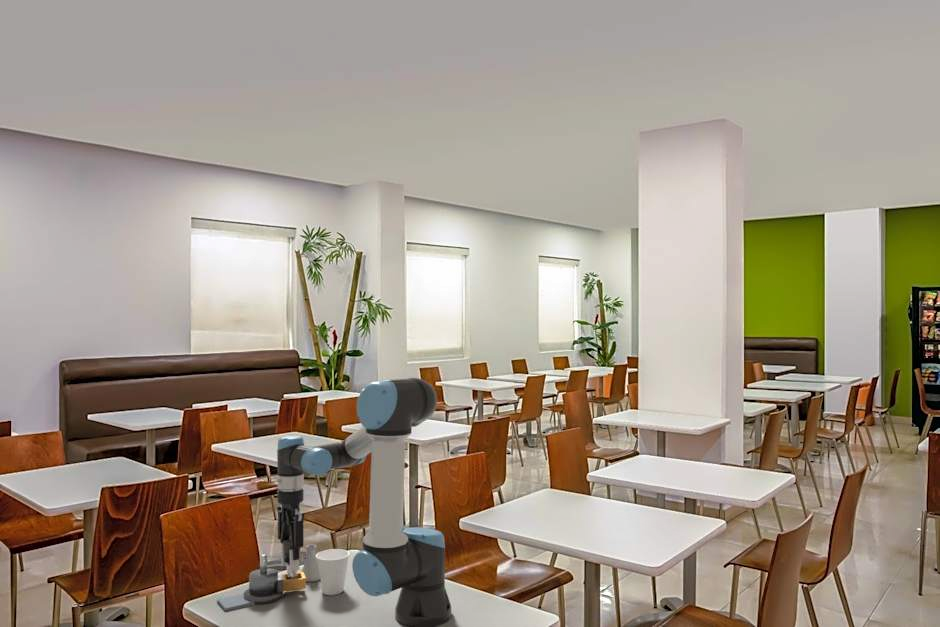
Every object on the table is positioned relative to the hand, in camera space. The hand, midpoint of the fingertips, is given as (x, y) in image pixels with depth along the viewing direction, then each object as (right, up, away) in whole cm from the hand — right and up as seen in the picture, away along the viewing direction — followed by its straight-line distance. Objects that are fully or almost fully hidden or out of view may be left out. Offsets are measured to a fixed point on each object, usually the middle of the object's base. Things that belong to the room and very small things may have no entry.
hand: (290, 567), depth 208 cm
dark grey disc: (-7, -7, -4) cm, 11 cm away
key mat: (-13, -7, -9) cm, 17 cm away
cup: (+13, -7, -1) cm, 15 cm away
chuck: (-3, -5, -3) cm, 7 cm away
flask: (+4, -7, +10) cm, 13 cm away
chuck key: (+1, -6, -1) cm, 6 cm away
